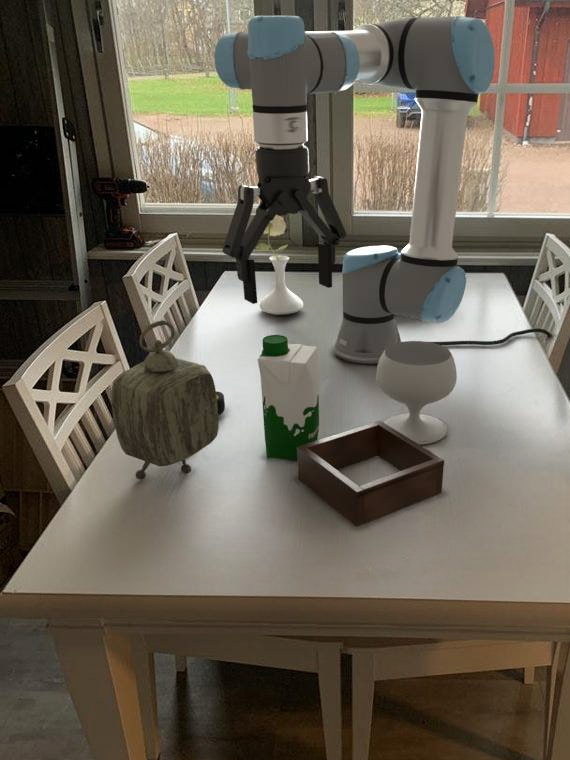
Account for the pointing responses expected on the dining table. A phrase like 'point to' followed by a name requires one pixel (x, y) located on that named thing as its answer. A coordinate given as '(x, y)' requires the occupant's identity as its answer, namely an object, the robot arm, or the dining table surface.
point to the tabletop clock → (164, 407)
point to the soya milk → (288, 396)
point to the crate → (376, 497)
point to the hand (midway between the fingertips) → (289, 293)
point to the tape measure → (220, 402)
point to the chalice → (417, 385)
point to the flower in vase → (278, 276)
